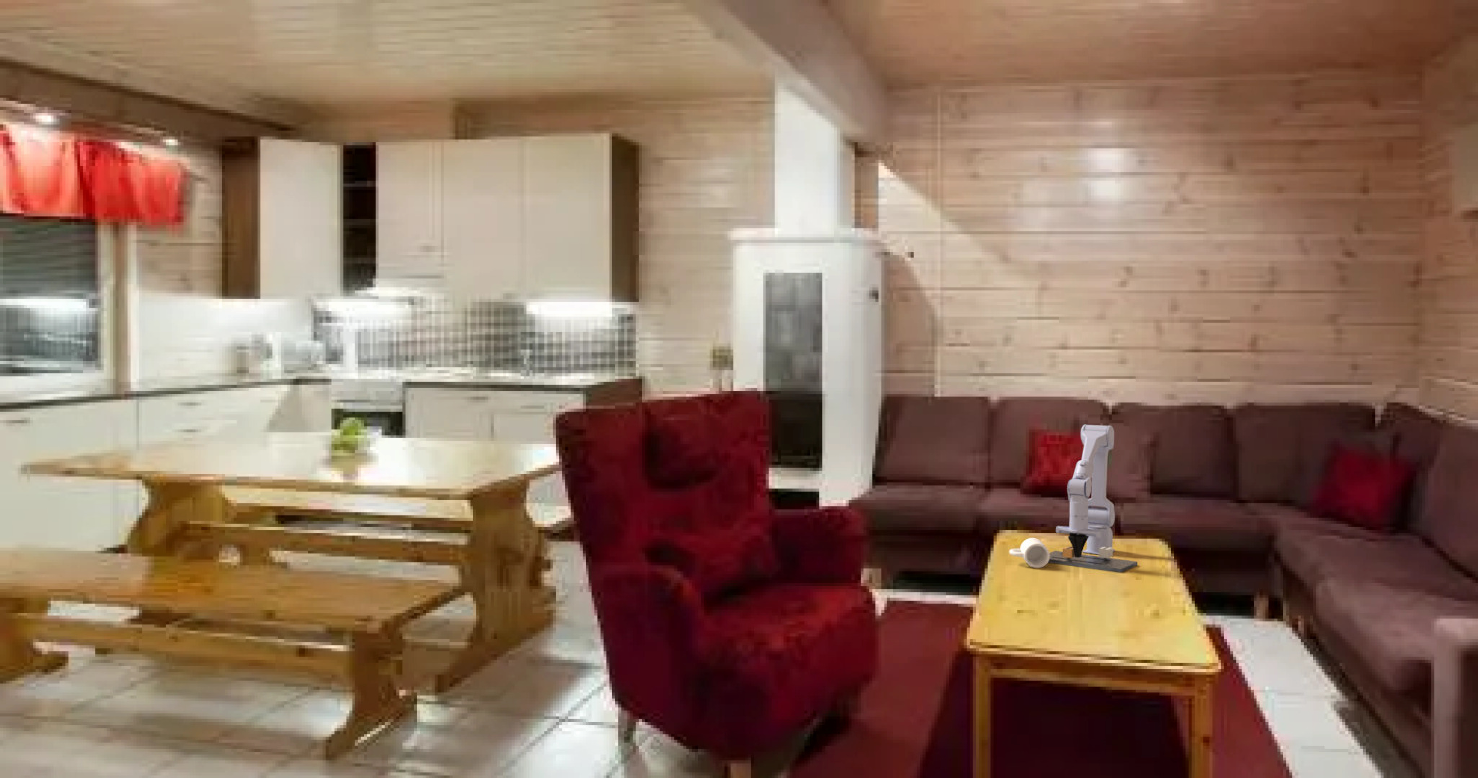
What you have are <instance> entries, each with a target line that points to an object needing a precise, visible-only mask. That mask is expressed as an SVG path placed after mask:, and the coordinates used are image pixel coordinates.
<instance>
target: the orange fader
mask: <svg viewBox="0 0 1478 778" xmlns="http://www.w3.org/2000/svg"><path fill="white" fill-rule="evenodd" d="M1062 552H1063V557H1067V559H1072V558H1073V557H1075V554H1074V550H1073V547H1072V546H1065V547H1062Z"/></svg>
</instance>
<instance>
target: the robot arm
mask: <svg viewBox="0 0 1478 778" xmlns="http://www.w3.org/2000/svg"><path fill="white" fill-rule="evenodd" d="M1080 440H1081V443H1082V445H1083V450H1082V455H1081V460H1078V461H1077V462H1076V464H1075V468H1074V472H1073V476H1072V478H1071V479H1069V480H1068V482H1067V486H1066V487H1067V488H1066V489H1067V490H1066V492H1067V499H1068V501H1069V523H1068V524H1069V526H1061V525H1057V526H1055V527H1056V528H1055V532H1056V533H1057V534H1069V535H1068V536H1067V539H1068V541H1070V544H1071V547H1073V550H1074V554H1075V557H1077V558H1079V557H1081V555H1082V554H1083V553H1086V554H1092V555H1099V548H1102V547H1110V548H1113V535H1114V534H1113V530H1112V528H1111V527H1113V525H1114V523H1115V519H1116V514H1115V513H1116V512H1115V505H1114V503H1113V502H1112V501H1110V500H1109V499H1108V498H1107V482H1108V458H1109V457H1108V456H1109V451H1110V450H1113V449H1114V446H1115V445H1114V444H1115V429H1114V427H1113V426H1112V425H1097V424H1095V425H1094V424H1083V425H1082V427H1081V428H1080ZM1090 495H1091V498H1090ZM1085 546H1086V549H1084V547H1085ZM1114 552H1116V549H1115V548H1113V553H1114Z"/></svg>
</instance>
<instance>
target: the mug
mask: <svg viewBox="0 0 1478 778" xmlns="http://www.w3.org/2000/svg"><path fill="white" fill-rule="evenodd" d="M1008 553H1009V554H1010V555H1011V556H1013V557H1019V558H1022V559H1023V560H1024V561H1025V563H1026V564H1027V565H1028V566H1029V567H1031V568H1035V569H1039V568H1040V569H1041V568H1043V567H1045V566H1046V565H1047V564H1048V561H1049V559H1050V553H1051V552H1050V551H1049V549H1048V548H1047V546H1046V545H1045V544H1044V543H1043V542H1042V540H1040V539H1038V538H1035V537H1029V538H1027V539H1025V540H1024V541H1022V543H1021V544H1020V547H1019V548H1010V550H1009V551H1008Z"/></svg>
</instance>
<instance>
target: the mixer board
mask: <svg viewBox="0 0 1478 778" xmlns="http://www.w3.org/2000/svg"><path fill="white" fill-rule="evenodd" d="M1049 553H1050V559H1049V561H1048V563H1049V564H1050V563H1051V564H1056V565H1064V566H1070V567H1078V568H1084V569H1085V568H1086V569H1092V570H1098V571H1107V572H1112V573H1113V572H1114V573H1120V574H1121V573H1124V572H1126V571H1128V570H1131V569H1132V568H1135V567H1137V566H1138V561H1134V560H1127V559H1119V558H1115V557H1114V558H1112V557H1110V558H1108V559H1104V558H1102V557H1099V555H1090V554H1083V553H1082V555H1081V557H1079V558H1077V557H1073V558H1072V559H1067V557H1063V551H1061V550H1054V551H1050V552H1049ZM1048 563H1047V564H1048Z"/></svg>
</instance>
